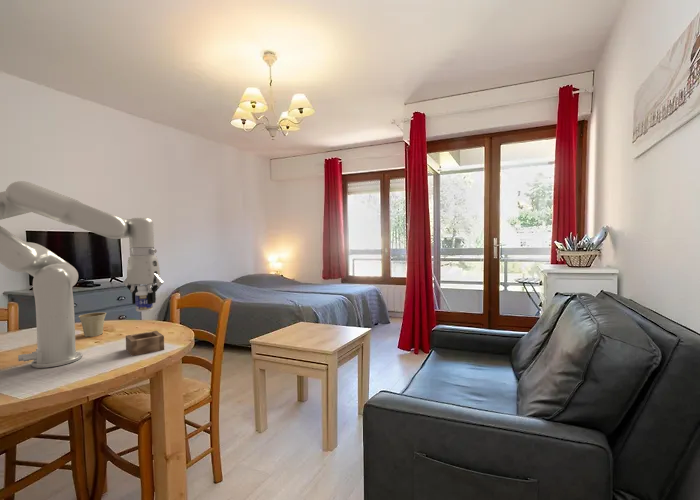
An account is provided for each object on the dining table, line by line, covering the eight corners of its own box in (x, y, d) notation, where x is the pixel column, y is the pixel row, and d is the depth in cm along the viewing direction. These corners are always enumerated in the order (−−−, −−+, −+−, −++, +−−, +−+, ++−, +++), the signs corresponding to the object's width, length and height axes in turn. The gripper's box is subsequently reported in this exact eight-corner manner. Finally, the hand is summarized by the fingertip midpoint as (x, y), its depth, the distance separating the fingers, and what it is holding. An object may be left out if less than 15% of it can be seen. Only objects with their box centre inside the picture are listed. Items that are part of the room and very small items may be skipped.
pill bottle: (139, 312, 123) (138, 287, 122) (133, 310, 126) (132, 286, 126) (155, 309, 127) (154, 285, 127) (148, 308, 130) (148, 284, 130)
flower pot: (73, 337, 144) (72, 316, 144) (96, 331, 153) (95, 311, 153) (90, 338, 142) (89, 317, 141) (112, 332, 151) (111, 312, 150)
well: (132, 356, 120) (131, 341, 120) (126, 349, 127) (125, 335, 127) (164, 349, 126) (163, 335, 126) (156, 343, 134) (156, 330, 134)
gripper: (171, 252, 128) (172, 301, 129) (128, 252, 131) (130, 301, 131) (157, 252, 121) (158, 305, 121) (112, 253, 123) (114, 305, 124)
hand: (144, 302), depth 126 cm, fingers closed on pill bottle, 5 cm apart
